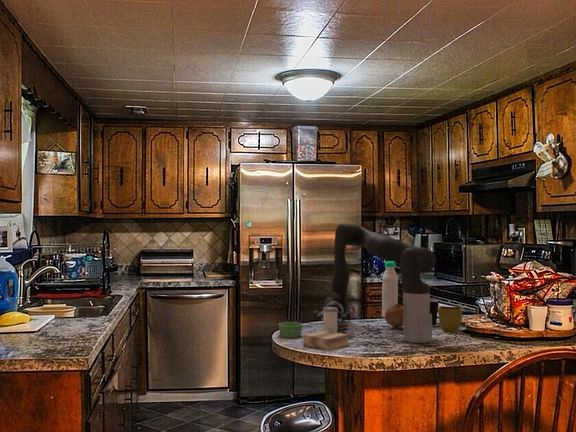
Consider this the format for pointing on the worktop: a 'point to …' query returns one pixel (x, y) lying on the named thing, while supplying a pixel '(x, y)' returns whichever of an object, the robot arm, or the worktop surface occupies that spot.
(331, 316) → the canister
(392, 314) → the onion
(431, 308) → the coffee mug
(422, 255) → the robot arm
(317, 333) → the base block
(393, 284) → the water bottle
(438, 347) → the worktop surface
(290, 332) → the ramekin
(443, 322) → the flower pot
